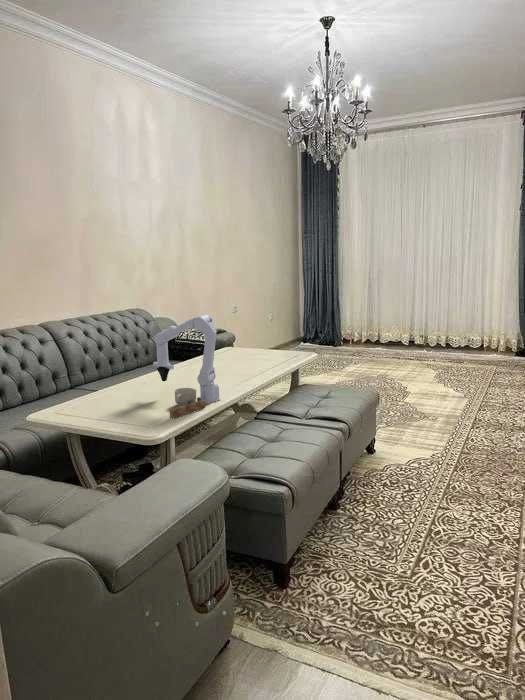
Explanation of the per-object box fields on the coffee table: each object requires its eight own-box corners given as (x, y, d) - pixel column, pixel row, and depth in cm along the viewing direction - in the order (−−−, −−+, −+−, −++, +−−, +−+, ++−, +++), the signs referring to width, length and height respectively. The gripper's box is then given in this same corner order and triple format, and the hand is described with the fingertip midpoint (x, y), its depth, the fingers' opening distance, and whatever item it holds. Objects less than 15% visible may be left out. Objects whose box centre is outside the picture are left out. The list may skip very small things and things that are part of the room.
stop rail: (199, 406, 267) (199, 397, 266) (205, 408, 264) (204, 398, 263) (167, 417, 252) (166, 407, 251) (172, 419, 250) (172, 408, 249)
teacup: (184, 401, 277) (183, 386, 276) (201, 403, 272) (200, 388, 270) (166, 408, 265) (165, 393, 264) (184, 411, 260) (183, 395, 258)
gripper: (147, 355, 281) (149, 380, 283) (165, 358, 271) (166, 384, 274) (158, 352, 286) (160, 377, 289) (176, 356, 276) (177, 381, 279)
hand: (164, 380), depth 282 cm, fingers closed
